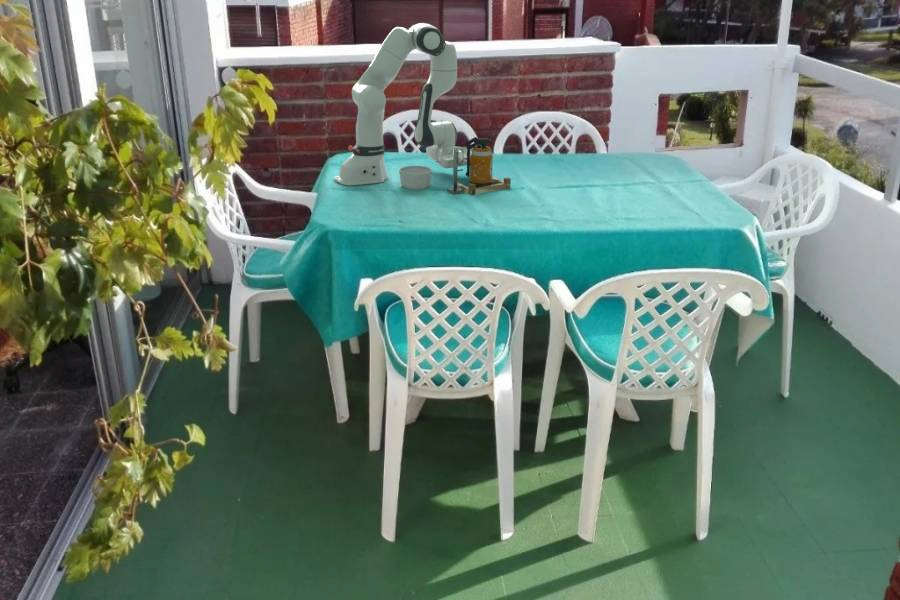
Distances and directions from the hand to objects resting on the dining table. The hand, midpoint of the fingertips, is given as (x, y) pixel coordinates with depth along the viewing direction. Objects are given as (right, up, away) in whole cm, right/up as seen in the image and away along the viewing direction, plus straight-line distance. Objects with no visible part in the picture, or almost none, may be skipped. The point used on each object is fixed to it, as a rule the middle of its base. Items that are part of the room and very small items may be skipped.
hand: (472, 163), depth 342 cm
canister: (+2, -9, +1) cm, 10 cm away
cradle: (+3, -10, -2) cm, 11 cm away
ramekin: (-23, -9, 0) cm, 25 cm away
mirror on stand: (-7, -13, -8) cm, 16 cm away
